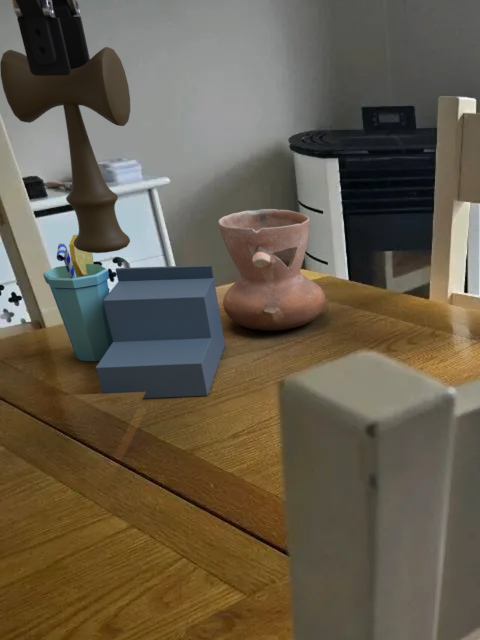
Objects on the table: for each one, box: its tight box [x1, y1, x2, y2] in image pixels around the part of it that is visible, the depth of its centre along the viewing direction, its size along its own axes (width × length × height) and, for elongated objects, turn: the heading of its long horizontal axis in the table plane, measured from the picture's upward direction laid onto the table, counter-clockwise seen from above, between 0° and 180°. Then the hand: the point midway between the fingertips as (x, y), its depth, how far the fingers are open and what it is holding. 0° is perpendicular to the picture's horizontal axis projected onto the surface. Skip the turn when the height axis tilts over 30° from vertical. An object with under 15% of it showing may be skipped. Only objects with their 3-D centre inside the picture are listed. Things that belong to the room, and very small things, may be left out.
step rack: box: [95, 264, 226, 400], centre depth 102 cm, size 12×18×10 cm, turn 6°
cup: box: [42, 234, 113, 362], centre depth 105 cm, size 14×8×15 cm, turn 14°
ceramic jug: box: [217, 208, 326, 332], centre depth 117 cm, size 18×14×14 cm
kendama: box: [0, 10, 131, 254], centre depth 75 cm, size 6×10×20 cm, turn 90°
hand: (62, 70), depth 72 cm, fingers closed on kendama, 5 cm apart
